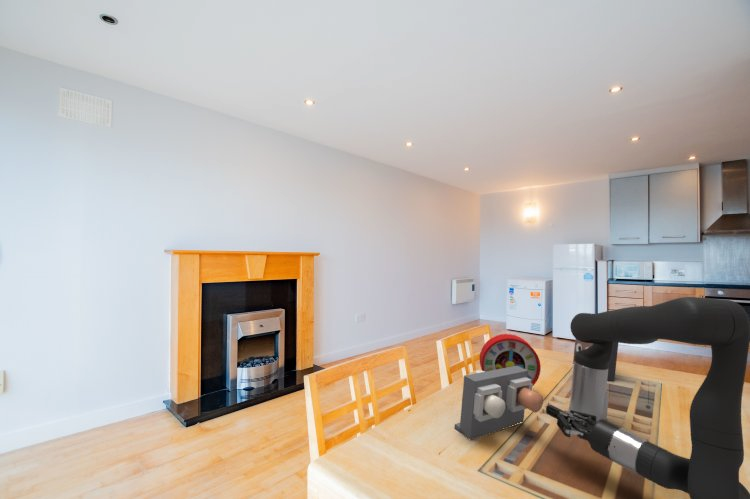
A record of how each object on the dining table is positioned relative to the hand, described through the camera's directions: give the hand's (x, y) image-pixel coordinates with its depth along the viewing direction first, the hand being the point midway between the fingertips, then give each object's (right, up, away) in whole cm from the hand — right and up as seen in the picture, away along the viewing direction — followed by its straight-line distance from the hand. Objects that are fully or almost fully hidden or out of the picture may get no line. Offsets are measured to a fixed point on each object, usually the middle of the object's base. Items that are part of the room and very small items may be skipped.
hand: (547, 408), depth 92 cm
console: (-12, -9, +7) cm, 17 cm away
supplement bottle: (-11, -8, +23) cm, 27 cm away
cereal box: (+49, -12, +58) cm, 77 cm away
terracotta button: (-3, -2, +5) cm, 6 cm away
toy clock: (+2, -9, +34) cm, 35 cm away
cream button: (-15, -1, 0) cm, 15 cm away
